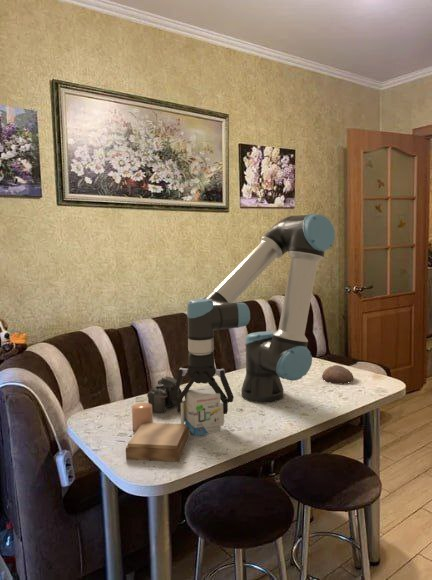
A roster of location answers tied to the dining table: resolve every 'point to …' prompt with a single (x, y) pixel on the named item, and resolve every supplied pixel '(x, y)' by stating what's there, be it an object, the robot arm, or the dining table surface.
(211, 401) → the ink box
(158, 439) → the stand
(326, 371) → the decorative stone
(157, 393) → the camera
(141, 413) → the peach domed cylinder
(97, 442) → the dining table surface
